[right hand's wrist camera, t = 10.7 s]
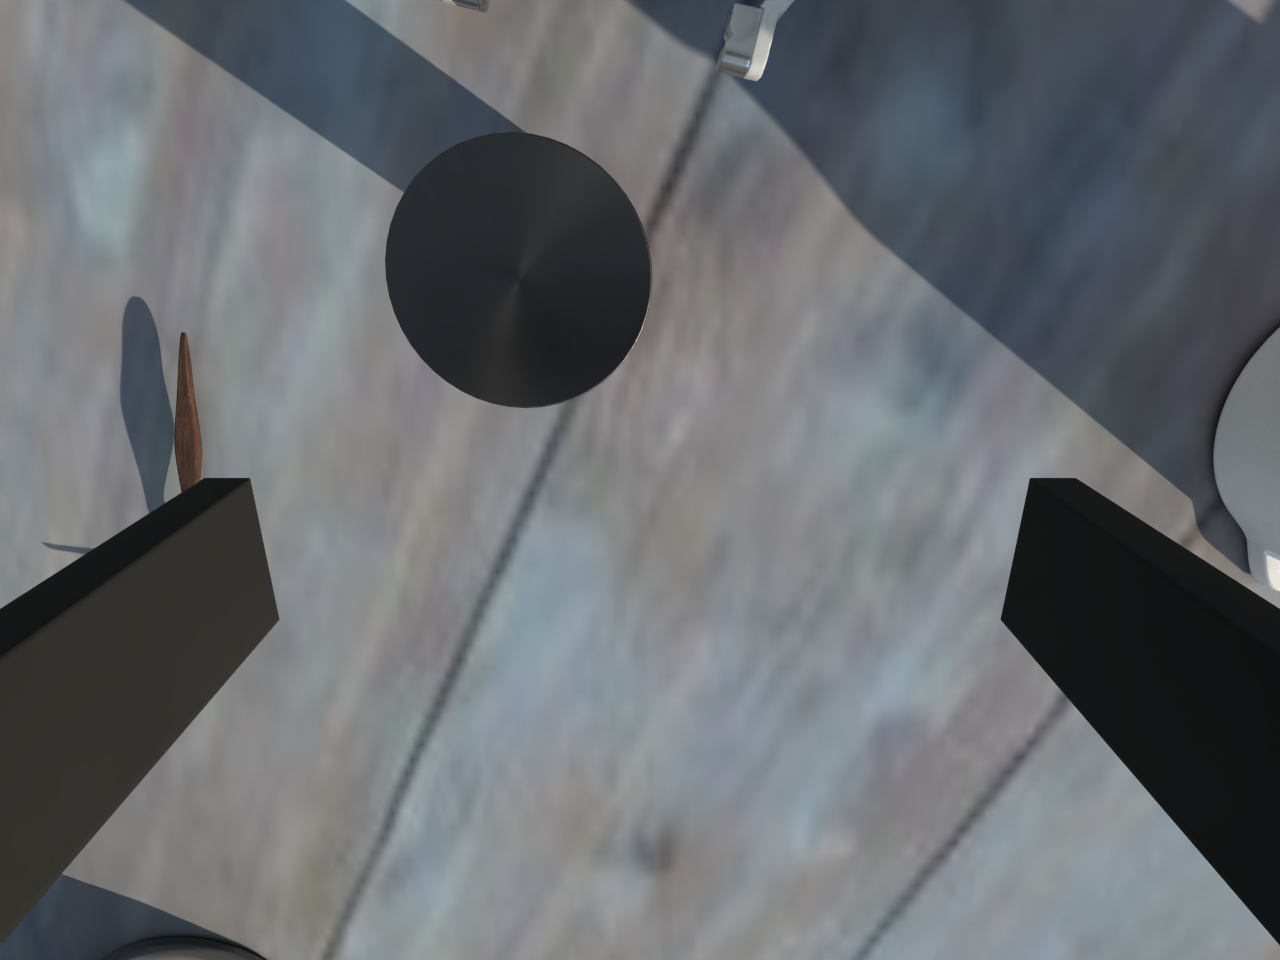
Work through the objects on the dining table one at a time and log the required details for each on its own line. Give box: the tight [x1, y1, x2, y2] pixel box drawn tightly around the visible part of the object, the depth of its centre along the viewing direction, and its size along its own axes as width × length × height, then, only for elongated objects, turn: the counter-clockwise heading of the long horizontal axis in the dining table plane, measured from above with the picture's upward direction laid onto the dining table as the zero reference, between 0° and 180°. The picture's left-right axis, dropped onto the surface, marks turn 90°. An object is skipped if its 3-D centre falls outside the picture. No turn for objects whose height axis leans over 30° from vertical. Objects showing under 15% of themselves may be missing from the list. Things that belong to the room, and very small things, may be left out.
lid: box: [385, 132, 652, 408], centre depth 18 cm, size 6×6×2 cm
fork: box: [174, 332, 202, 492], centre depth 36 cm, size 3×16×2 cm, turn 170°
